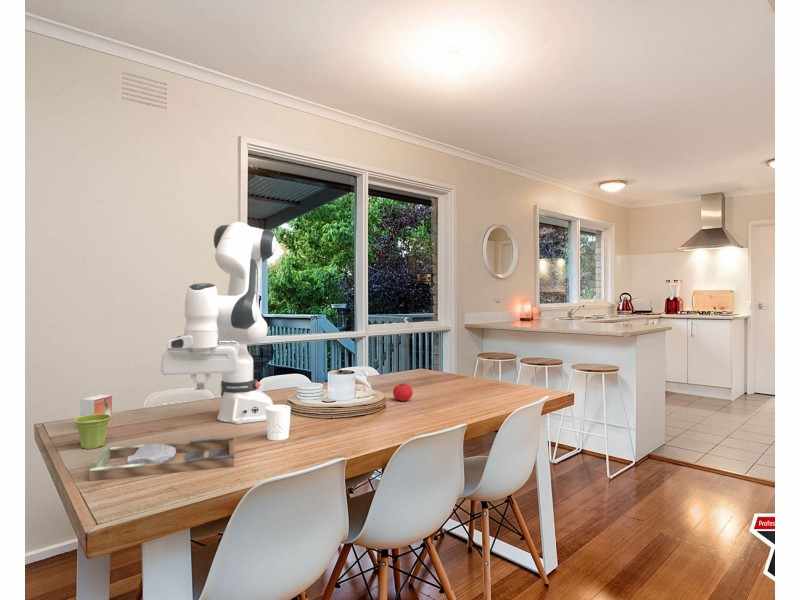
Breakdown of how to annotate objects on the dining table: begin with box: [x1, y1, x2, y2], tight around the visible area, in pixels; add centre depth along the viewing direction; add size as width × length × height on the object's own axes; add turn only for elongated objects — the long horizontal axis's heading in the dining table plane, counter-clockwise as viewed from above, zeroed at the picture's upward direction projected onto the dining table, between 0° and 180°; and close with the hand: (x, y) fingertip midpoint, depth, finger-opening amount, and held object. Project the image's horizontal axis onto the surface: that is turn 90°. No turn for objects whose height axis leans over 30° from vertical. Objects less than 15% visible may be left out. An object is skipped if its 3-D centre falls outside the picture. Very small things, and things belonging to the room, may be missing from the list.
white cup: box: [265, 404, 292, 442], centre depth 157 cm, size 8×8×10 cm
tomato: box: [392, 382, 414, 402], centre depth 214 cm, size 9×9×8 cm
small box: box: [79, 394, 113, 427], centre depth 165 cm, size 8×6×10 cm
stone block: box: [126, 442, 177, 465], centre depth 133 cm, size 12×5×10 cm
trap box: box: [89, 437, 235, 482], centre depth 134 cm, size 34×18×4 cm, turn 110°
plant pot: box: [74, 414, 111, 450], centre depth 145 cm, size 9×9×9 cm
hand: (200, 389), depth 136 cm, fingers closed
